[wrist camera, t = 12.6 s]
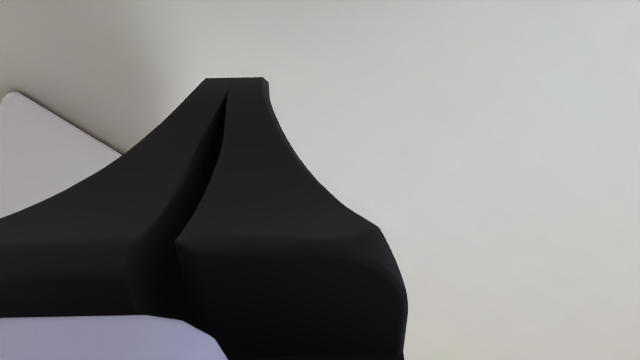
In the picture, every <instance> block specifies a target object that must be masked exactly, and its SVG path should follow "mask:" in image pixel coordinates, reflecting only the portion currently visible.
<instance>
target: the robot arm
mask: <svg viewBox="0 0 640 360" xmlns="http://www.w3.org/2000/svg"><path fill="white" fill-rule="evenodd" d="M407 315H408V300H407V293H406V289H405V285H404V282H403V279H402V276H401V273H400V270H399V268H398V265H397V263H396V260H395V258H394V256H393V254H392V251H391V249H390V247H389V245H388V243H387V241H386V239H385V237H384V235H383V233H382V232H381V230H380V228H379V227H377V226H376V225H374V224H373V223H371V222H370V221H368V220H366V219H365V218H363V217H361V216H360V215H358V214H356V213H355V212H353V211H352V210H350V209H349V208H347V207H346V206H344V205H343V204H342V203H341V202H339V201H338V200H337V199H336V198H335V197H334V196H333V195H332V194H331V193H330V192H329V191H328V190H327V189H326V188H325V187H324V186H322V185H321V184H320V183H319V182H318V181H317V179H316V178H315V177H314V176H313V175H312V174H311V173H310V171H309V170H308V169H307V168H306V166H305V165H304V164H303V162H302V161H301V160H300V159H299V157H298V156H297V154H296V153H295V151H294V150H293V148H292V147H291V145H290V143H289V141H288V140H287V138H286V136H285V135H284V133H283V131H282V129H281V127H280V125H279V122H278V120H277V118H276V116H275V114H274V111H273V108H272V105H271V102H270V97H269V83H268V81H266V80H265V79H264V78H263V77H254V78H206V79H205V80H204V81H202V82H201V84H200V85H199V86H198V87H197V88H196V89H195V90H194V91H193V92H192V93H191V94H190V95H189V96H188V97H187V98H186V99H185V100H184V101H183V102H182V103H181V104H180V105H179V106H178V107H177V108H176V109H175V110H174V111H173V112H172V113H171V114H170V115H169V116H168V117H167V118H166V119H165V120H164V121H163V122H162V123H161V124H160V125H158V126H157V127H156V128H155V129H154V130H153V131H152V132H150V133H149V134H148V135H147V136H146V137H145V138H143V139H142V140H141V141H140V142H139V143H138V144H136V145H135V146H134V147H133V148H131V149H130V150H129V151H127V152H126V153H125V154H123V155H122V156H120V157H119V158H118V159H116V160H115V161H113V162H112V163H110V164H109V165H107V166H106V167H104V168H103V169H101V170H99V171H98V172H96V173H94V174H93V175H91V176H89V177H87V178H86V179H84V180H82V181H80V182H78V183H77V184H75V185H73V186H71V187H69V188H68V189H66V190H64V191H62V192H60V193H58V194H56V195H54V196H52V197H50V198H48V199H45V200H43V201H41V202H39V203H37V204H34V205H32V206H30V207H27V208H25V209H23V210H20V211H18V212H15V213H13V214H10V215H8V216H5V217H2V218H0V360H404V355H403V348H404V339H405V331H406V323H407Z"/></svg>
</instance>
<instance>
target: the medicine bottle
mask: <svg viewBox="0 0 640 360" xmlns="http://www.w3.org/2000/svg"><path fill="white" fill-rule="evenodd" d="M120 156H122V155H121V154H120V153H118V152H116V151H115V150H113V149H111V148H110V147H108V146H106V145H105V144H103V143H101V142H100V141H98V140H96V139H95V138H93V137H91V136H90V135H88V134H86V133H85V132H83V131H81V130H80V129H78V128H76V127H75V126H73V125H72V124H70V123H68V122H67V121H65V120H63V119H62V118H60V117H58V116H57V115H55V114H53V113H52V112H50V111H48V110H47V109H45V108H43V107H42V106H40V105H38V104H37V103H35V102H33V101H32V100H30V99H28V98H27V97H25V96H23V95H22V94H20V93H18V92H10V93H8V94H7V95H5V96H4V98H3V99H2V100H1V101H0V218H2V217H5V216H8V215H10V214H13V213H15V212H18V211H20V210H23V209H25V208H27V207H30V206H32V205H34V204H37V203H39V202H41V201H43V200H45V199H48V198H50V197H52V196H54V195H56V194H58V193H60V192H62V191H64V190H66V189H68V188H69V187H71V186H73V185H75V184H77V183H78V182H80V181H82V180H84V179H86V178H87V177H89V176H91V175H93V174H94V173H96V172H98V171H99V170H101V169H103V168H104V167H106V166H107V165H109V164H110V163H112V162H113V161H115V160H116V159H118V158H119V157H120Z"/></svg>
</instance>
